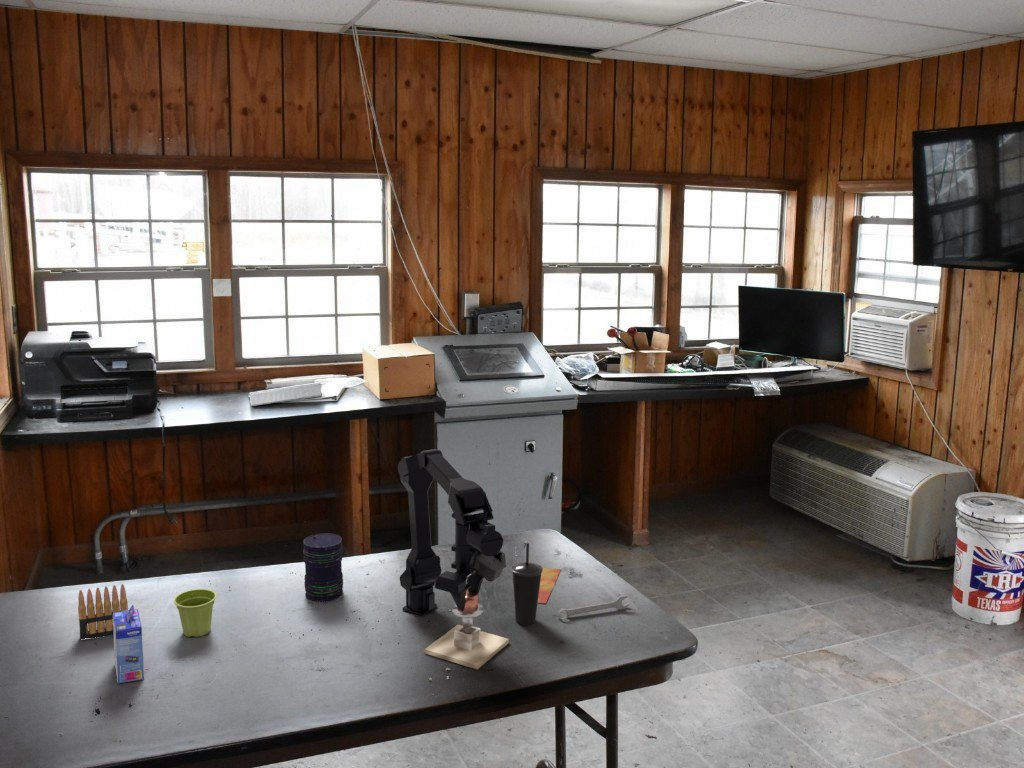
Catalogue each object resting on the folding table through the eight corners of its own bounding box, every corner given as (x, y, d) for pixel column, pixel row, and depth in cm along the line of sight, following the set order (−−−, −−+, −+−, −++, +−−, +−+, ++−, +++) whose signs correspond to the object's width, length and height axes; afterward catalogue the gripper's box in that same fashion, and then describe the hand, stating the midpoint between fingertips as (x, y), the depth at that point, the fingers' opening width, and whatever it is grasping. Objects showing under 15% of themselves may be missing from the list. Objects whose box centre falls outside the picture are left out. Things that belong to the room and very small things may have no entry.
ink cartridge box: (146, 679, 187) (141, 616, 184) (117, 685, 184) (112, 621, 181) (141, 658, 195) (137, 597, 192) (114, 663, 193) (109, 602, 190)
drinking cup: (538, 629, 212) (540, 551, 208) (507, 625, 213) (509, 547, 209) (543, 615, 219) (545, 539, 215) (513, 611, 220) (515, 536, 216)
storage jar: (351, 592, 230) (350, 538, 227) (324, 606, 222) (323, 550, 219) (323, 583, 235) (322, 530, 232) (296, 596, 227) (294, 541, 224)
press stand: (424, 653, 199) (424, 634, 198) (458, 628, 211) (458, 610, 210) (477, 669, 193) (477, 650, 192) (508, 642, 205) (509, 625, 204)
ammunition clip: (130, 628, 209) (126, 581, 206) (130, 632, 207) (126, 584, 205) (80, 637, 204) (76, 589, 202) (80, 640, 203) (75, 592, 200)
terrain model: (561, 571, 247) (561, 569, 246) (545, 605, 225) (545, 603, 225) (475, 561, 252) (475, 559, 252) (452, 594, 231) (452, 592, 231)
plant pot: (225, 631, 208) (223, 597, 206) (187, 645, 201) (185, 610, 200) (206, 618, 214) (204, 585, 213) (168, 631, 208) (166, 597, 206)
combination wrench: (558, 609, 216) (631, 596, 222) (556, 607, 217) (629, 594, 224) (558, 623, 216) (631, 609, 223) (556, 621, 218) (628, 607, 224)
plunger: (446, 627, 200) (446, 598, 198) (462, 615, 206) (462, 587, 204) (472, 635, 196) (472, 605, 195) (488, 622, 202) (488, 593, 201)
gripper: (476, 562, 185) (476, 631, 188) (519, 535, 201) (518, 598, 204) (433, 552, 190) (433, 619, 193) (477, 526, 206) (477, 588, 209)
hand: (467, 605), depth 200 cm, fingers closed on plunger, 5 cm apart
